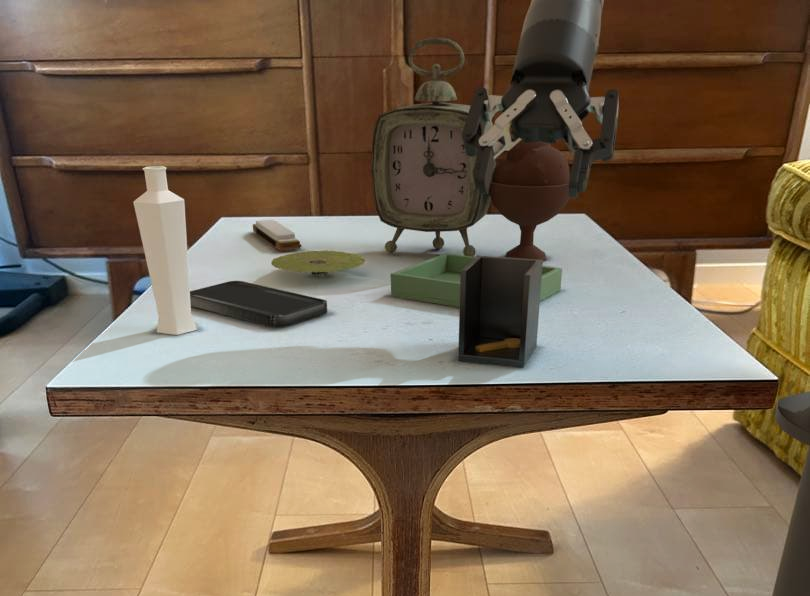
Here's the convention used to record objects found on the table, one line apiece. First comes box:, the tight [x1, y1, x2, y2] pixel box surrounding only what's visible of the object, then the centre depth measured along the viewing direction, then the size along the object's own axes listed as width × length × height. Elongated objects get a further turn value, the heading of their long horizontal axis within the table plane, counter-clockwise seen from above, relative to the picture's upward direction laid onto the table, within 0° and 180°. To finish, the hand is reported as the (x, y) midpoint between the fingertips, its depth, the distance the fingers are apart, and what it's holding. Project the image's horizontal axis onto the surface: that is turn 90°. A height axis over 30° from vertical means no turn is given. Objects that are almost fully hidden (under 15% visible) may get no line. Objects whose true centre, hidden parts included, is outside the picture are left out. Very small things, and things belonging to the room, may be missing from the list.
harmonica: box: [252, 219, 302, 251], centre depth 124 cm, size 15×3×2 cm, turn 23°
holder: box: [457, 255, 544, 368], centre depth 78 cm, size 6×6×8 cm
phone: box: [190, 280, 328, 328], centre depth 94 cm, size 8×1×15 cm
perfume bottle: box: [132, 165, 198, 336], centre depth 84 cm, size 5×4×15 cm
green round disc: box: [270, 250, 366, 278], centre depth 106 cm, size 11×11×2 cm
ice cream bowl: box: [489, 139, 571, 262], centre depth 111 cm, size 11×11×15 cm
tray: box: [390, 252, 563, 308], centre depth 99 cm, size 15×12×2 cm
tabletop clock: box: [370, 37, 497, 257], centre depth 112 cm, size 14×9×25 cm, turn 73°
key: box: [476, 338, 520, 352], centre depth 80 cm, size 5×2×1 cm, turn 117°
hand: (527, 190), depth 82 cm, fingers open, 8 cm apart
